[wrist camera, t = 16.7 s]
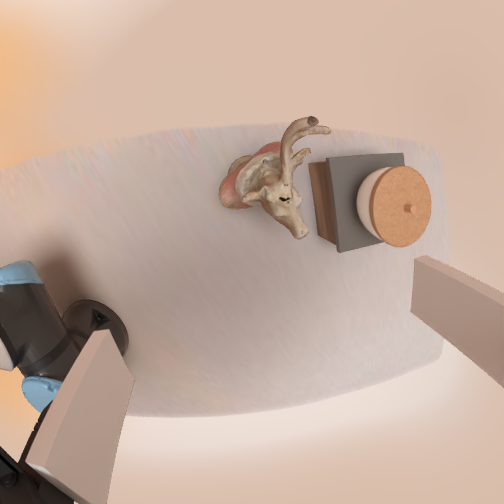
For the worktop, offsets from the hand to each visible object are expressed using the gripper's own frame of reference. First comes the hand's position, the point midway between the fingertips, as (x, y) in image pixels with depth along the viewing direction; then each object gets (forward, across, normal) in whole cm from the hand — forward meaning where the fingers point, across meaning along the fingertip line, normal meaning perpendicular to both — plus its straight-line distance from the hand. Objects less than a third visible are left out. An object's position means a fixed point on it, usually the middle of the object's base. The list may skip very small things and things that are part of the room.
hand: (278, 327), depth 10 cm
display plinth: (+37, +22, -1) cm, 43 cm away
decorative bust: (+37, +5, +3) cm, 37 cm away
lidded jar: (+27, +22, -1) cm, 35 cm away
